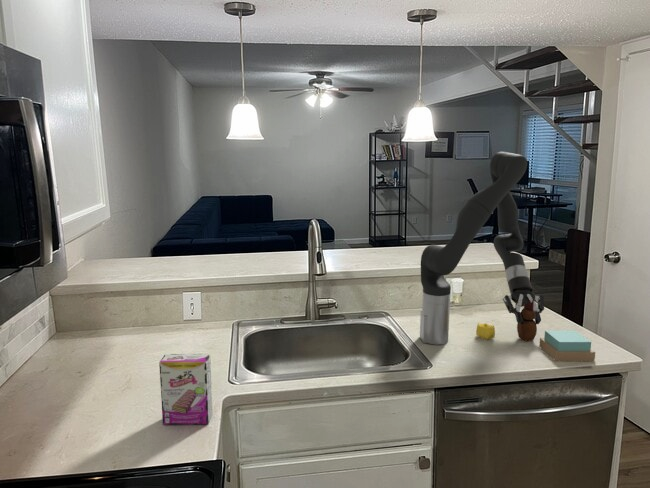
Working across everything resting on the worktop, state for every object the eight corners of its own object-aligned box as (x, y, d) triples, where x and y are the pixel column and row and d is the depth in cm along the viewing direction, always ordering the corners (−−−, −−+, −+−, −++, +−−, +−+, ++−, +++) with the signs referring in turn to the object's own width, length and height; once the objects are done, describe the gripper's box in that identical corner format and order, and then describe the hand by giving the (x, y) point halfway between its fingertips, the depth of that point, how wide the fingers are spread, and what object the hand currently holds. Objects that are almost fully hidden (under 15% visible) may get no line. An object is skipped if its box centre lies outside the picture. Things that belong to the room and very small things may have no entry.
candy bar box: (162, 426, 116) (157, 361, 113) (168, 415, 121) (164, 353, 118) (209, 425, 116) (206, 361, 113) (213, 414, 121) (210, 352, 118)
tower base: (556, 361, 152) (557, 343, 151) (539, 346, 164) (540, 329, 163) (594, 361, 152) (596, 343, 151) (574, 346, 164) (576, 329, 163)
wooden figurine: (538, 343, 166) (541, 301, 163) (521, 343, 166) (524, 301, 164) (530, 336, 173) (533, 295, 170) (514, 336, 173) (517, 295, 170)
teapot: (501, 340, 169) (502, 326, 168) (488, 343, 167) (489, 328, 166) (485, 332, 176) (486, 319, 175) (472, 335, 174) (473, 321, 173)
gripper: (501, 275, 173) (512, 318, 163) (541, 275, 173) (555, 318, 164) (495, 285, 179) (505, 328, 170) (534, 285, 179) (546, 327, 170)
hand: (529, 323), depth 167 cm, fingers closed on wooden figurine, 5 cm apart
